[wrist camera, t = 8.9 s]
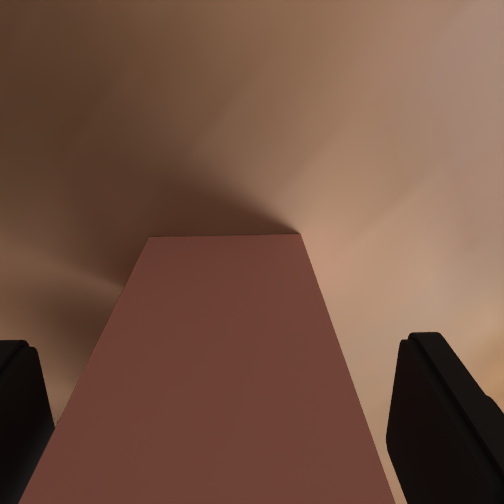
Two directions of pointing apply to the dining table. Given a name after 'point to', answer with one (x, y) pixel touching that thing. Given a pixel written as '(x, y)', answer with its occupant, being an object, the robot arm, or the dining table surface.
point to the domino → (214, 388)
